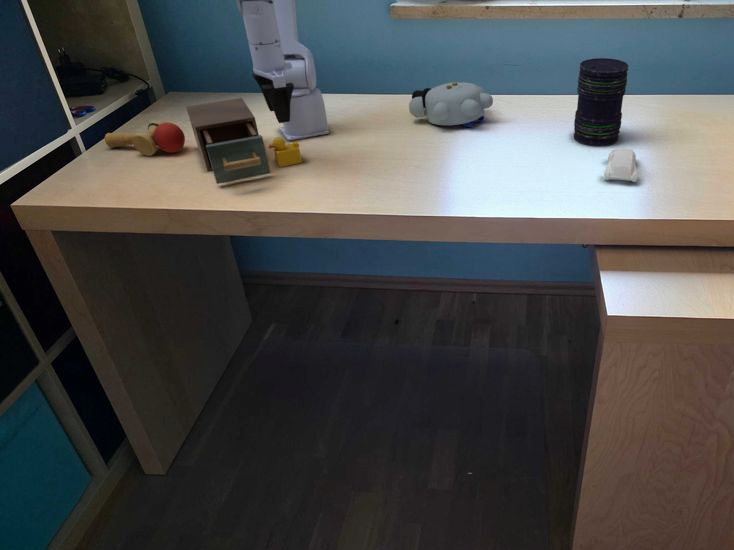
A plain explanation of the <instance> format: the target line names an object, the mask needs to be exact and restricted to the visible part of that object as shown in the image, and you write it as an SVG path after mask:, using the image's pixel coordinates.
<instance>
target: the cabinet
mask: <svg viewBox="0 0 734 550" xmlns="http://www.w3.org/2000/svg"><path fill="white" fill-rule="evenodd" d="M185 108H186V111H187V115H188V118H189V122H190V125H191V128H192V132H193V135H194V139H195V143H196V145H197V149H198V152H199V153H200V156H201V158H202V159H201V160H202V161H203V163H204V166H205V168H206V171H207V172H210V171H213V169H212V166H211V162H210V159H209V155H208V152H207V148H206V144H205V140H204V137H203V133H202V129H208V128H214V127H220V126H226V125H232V124H238V123H244V122H249V123H250V124H251V126H252V128H253V129H254V131H255V132H256V134H257V136H259V135H260V134H259V130H258V126H257V125H258V124H257V120H256V117H255V115H254V114H253V112H252V111H251V109H250V108H249V106H248V105H247V103H246V102H245V100H244V99H243V97H239V98H233V99H231V98H230V99H226V100H219V101H213V102H207V103H199V104H194V105H187V106H186V107H185Z"/></svg>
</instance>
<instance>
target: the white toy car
mask: <svg viewBox="0 0 734 550" xmlns="http://www.w3.org/2000/svg"><path fill="white" fill-rule="evenodd" d="M636 161H637V155H636V152H635V151H634V149H631V148H626V147H622V148H621V147H617V148H614V149H611V151H610V152H609V153H608V156H607V165H606V167H605V171H604V175H603V176H604V181H610V180H621V181H627V182H628V181H629V182H632V183H637V182H638V178H639V169H638V167H637V166H636Z"/></svg>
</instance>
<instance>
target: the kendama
mask: <svg viewBox="0 0 734 550" xmlns="http://www.w3.org/2000/svg"><path fill="white" fill-rule="evenodd" d="M185 142H186V136H185V133H184V131H183V130H182V129H181V127H180V126H178V125H177V124H175V123H173V122H161V121H159V120H152V121H151V122H149V123H148V125H147V132H146V133H144V132H137V133H136V132H135V133H133V132H130V133H129V132H126V133H125V132H123V133H121V132H119V133H117V132H115V133H114V132H107V133H106V134H105V136H104V143H105V144H106V145H107V147H109V148H117V147H123V146H131V145H133V147H134V148H135V150H136V151H138V152H139V153H140V154H141V155H143V156H147V157H150V156H153V155H154V154H155V153H156V152H157V151H158V148H159V149H161V150H162V151H163V152H166V153H177V152H179V151H181V150H183V148H184V146H185Z"/></svg>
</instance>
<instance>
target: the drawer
mask: <svg viewBox="0 0 734 550" xmlns="http://www.w3.org/2000/svg"><path fill="white" fill-rule="evenodd" d="M202 133H203V137H204V140H205V144H206V148H207V152H208V155H209V159H210V162H211V166H212V169H213V170H212V173H213V176H214V179H215V182H216V184H217V185H218V184H224V183H228V182H234V181H238V180H239V181H240V180H243V179H249V178H254V177H259V176H264V175H268V174H271V169H270V165H269V160H268V155H267V151H266V147H265V143H264V139H263V136H262V135H260V134H259V136H257V134H256V132H255V131H254V129H253V128H252V126H251V124H250V123H249V122H244V123H238V124H232V125H226V126H220V127H214V128H208V129H202Z"/></svg>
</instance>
